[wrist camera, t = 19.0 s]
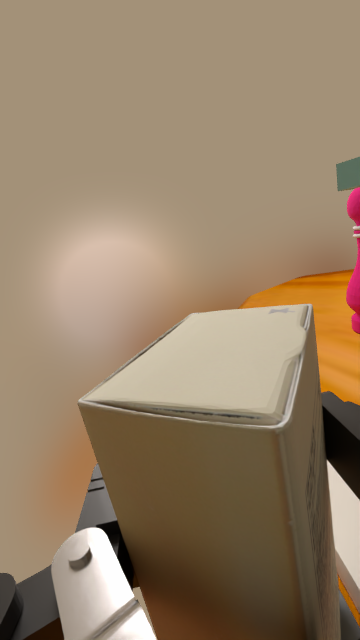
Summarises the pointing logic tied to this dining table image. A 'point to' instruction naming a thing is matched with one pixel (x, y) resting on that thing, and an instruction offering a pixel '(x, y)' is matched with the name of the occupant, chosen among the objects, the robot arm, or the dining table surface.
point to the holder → (346, 533)
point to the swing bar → (348, 174)
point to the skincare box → (223, 476)
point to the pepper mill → (356, 292)
